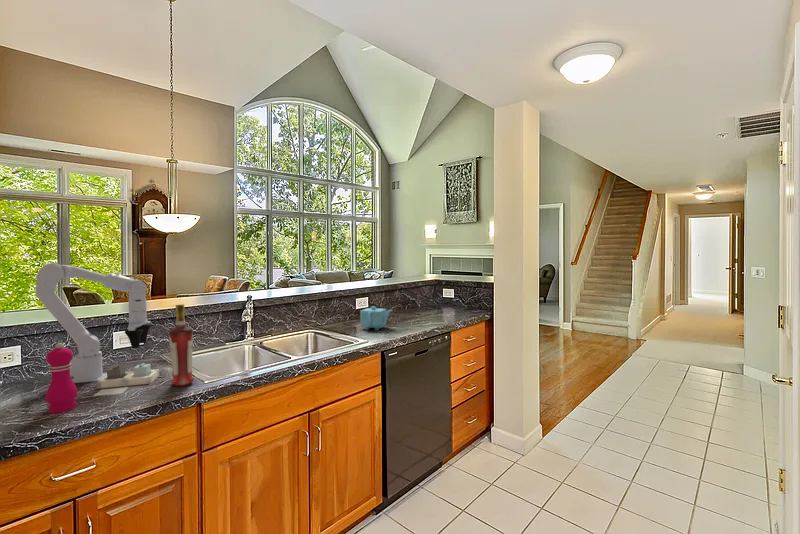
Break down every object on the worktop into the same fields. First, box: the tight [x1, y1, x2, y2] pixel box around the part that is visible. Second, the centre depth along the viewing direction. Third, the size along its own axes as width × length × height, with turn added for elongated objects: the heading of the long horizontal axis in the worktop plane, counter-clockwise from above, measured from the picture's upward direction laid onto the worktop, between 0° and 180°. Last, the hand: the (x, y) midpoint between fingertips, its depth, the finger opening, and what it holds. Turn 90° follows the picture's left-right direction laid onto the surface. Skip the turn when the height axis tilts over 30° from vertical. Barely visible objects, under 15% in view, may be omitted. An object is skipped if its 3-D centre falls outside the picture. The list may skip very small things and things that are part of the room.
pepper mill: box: [45, 342, 79, 414], centre depth 115 cm, size 7×7×20 cm
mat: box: [93, 386, 129, 397], centre depth 129 cm, size 8×6×1 cm
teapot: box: [360, 305, 393, 331], centre depth 228 cm, size 18×16×13 cm
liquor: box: [168, 303, 195, 388], centre depth 136 cm, size 7×7×28 cm
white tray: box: [96, 364, 160, 389], centre depth 139 cm, size 16×10×6 cm, turn 107°
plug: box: [133, 362, 152, 377], centre depth 141 cm, size 4×4×6 cm
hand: (139, 345), depth 152 cm, fingers open, 7 cm apart
